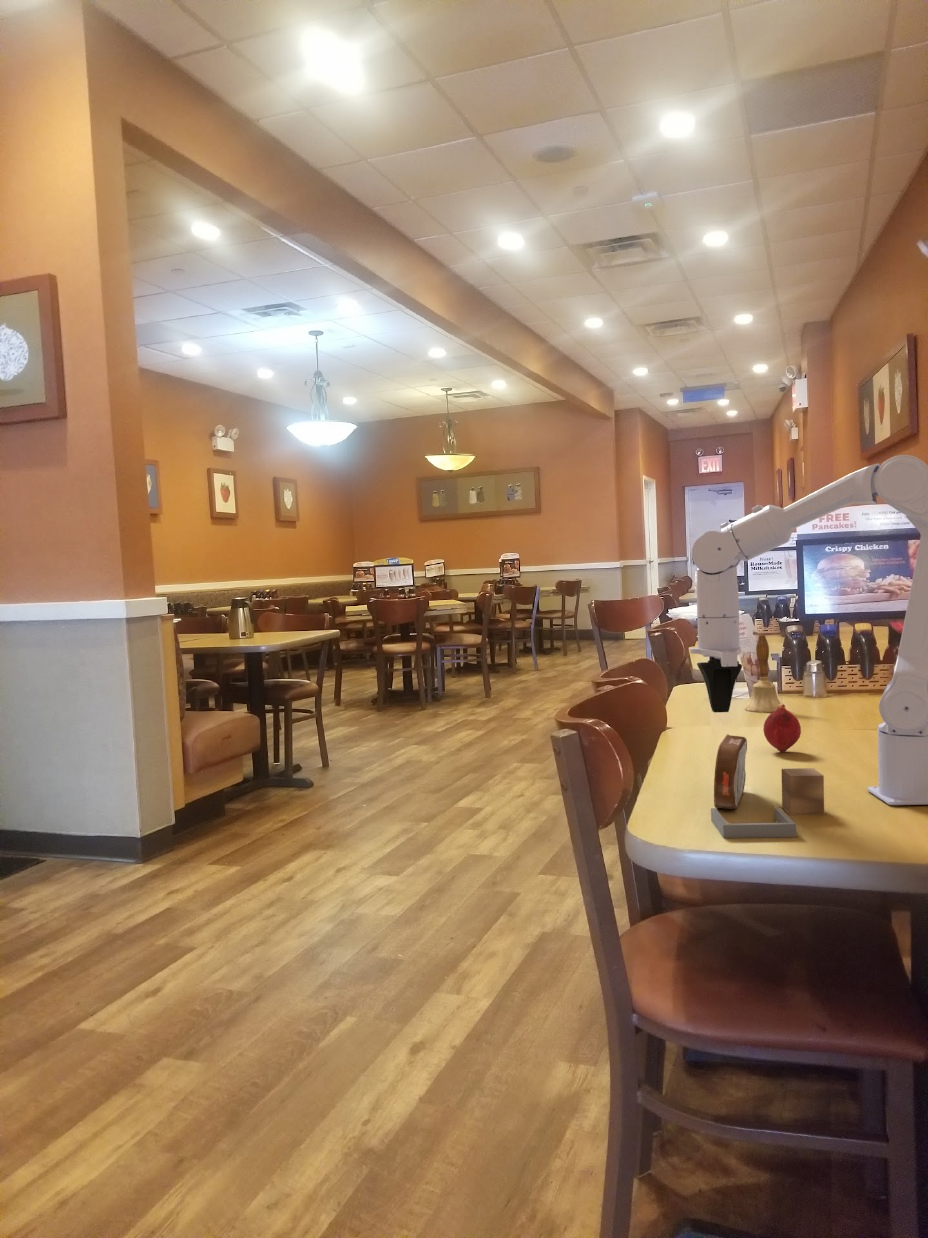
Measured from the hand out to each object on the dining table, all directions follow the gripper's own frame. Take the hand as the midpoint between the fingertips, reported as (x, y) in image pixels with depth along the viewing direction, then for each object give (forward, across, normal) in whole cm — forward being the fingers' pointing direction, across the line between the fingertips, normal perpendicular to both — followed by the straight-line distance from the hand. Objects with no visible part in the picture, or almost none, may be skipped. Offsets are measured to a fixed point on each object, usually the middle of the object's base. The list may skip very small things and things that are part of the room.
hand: (720, 711), depth 127 cm
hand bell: (+11, -63, +22) cm, 68 cm away
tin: (+11, +10, -1) cm, 14 cm away
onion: (+11, -20, +14) cm, 27 cm away
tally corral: (+10, +22, -1) cm, 24 cm away
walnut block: (+10, +15, +7) cm, 19 cm away
